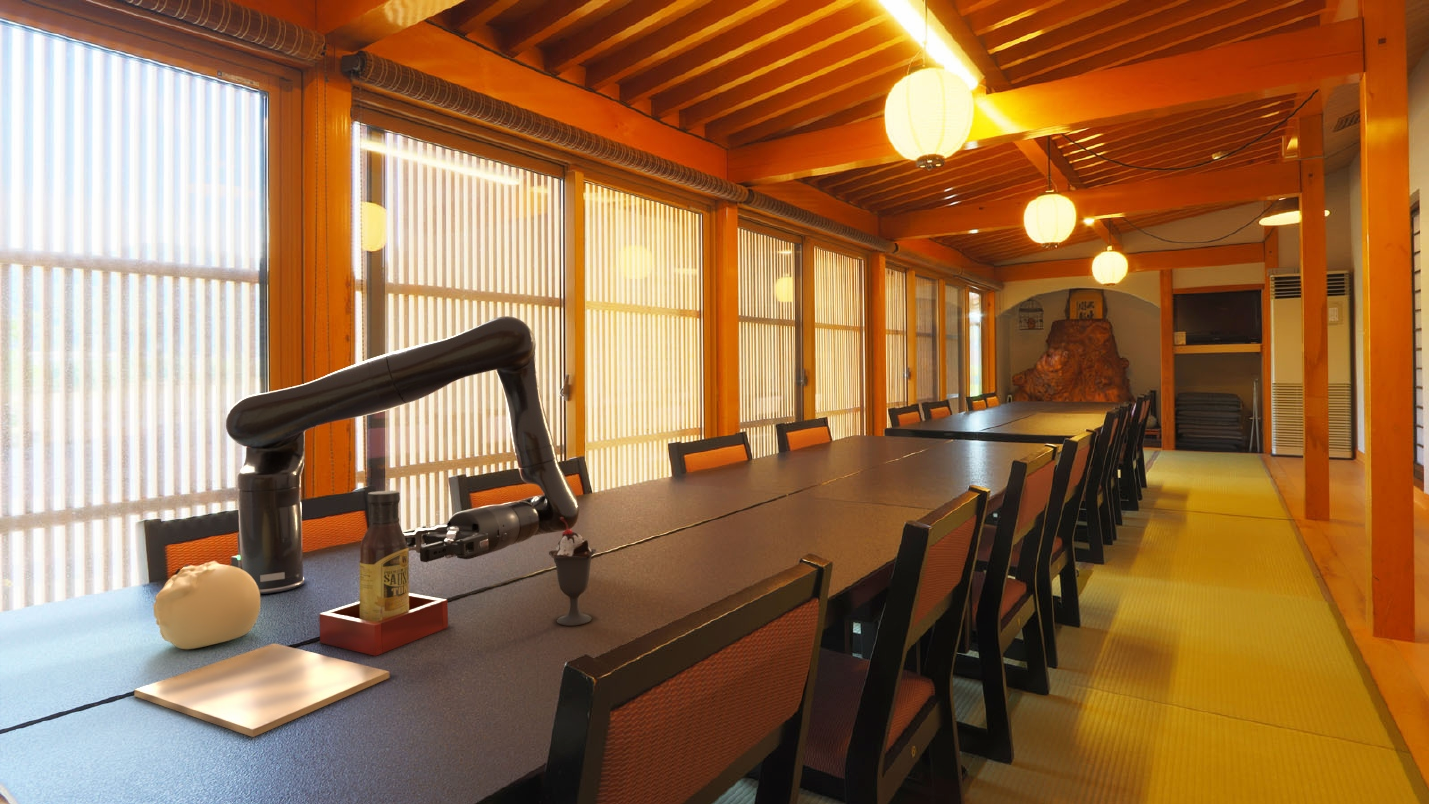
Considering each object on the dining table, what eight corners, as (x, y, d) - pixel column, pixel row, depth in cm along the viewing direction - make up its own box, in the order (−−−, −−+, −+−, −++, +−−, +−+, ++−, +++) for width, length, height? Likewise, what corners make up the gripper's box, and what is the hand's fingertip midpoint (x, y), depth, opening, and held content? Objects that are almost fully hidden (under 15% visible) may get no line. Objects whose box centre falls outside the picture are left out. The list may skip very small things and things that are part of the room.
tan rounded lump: (168, 634, 103) (165, 558, 103) (267, 622, 108) (265, 549, 107) (142, 663, 92) (139, 578, 92) (253, 648, 97) (250, 567, 97)
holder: (319, 643, 99) (318, 613, 99) (394, 616, 110) (393, 590, 109) (375, 656, 94) (374, 625, 94) (448, 627, 105) (447, 599, 105)
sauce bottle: (391, 644, 98) (386, 496, 97) (349, 642, 99) (345, 495, 99) (420, 628, 104) (416, 489, 104) (381, 625, 106) (377, 488, 105)
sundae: (553, 614, 110) (551, 514, 109) (598, 612, 111) (597, 513, 110) (547, 629, 103) (545, 523, 103) (595, 627, 104) (593, 521, 103)
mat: (134, 696, 83) (133, 689, 83) (274, 649, 97) (274, 643, 97) (253, 737, 73) (252, 729, 73) (389, 678, 87) (389, 671, 87)
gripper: (451, 504, 121) (365, 521, 107) (517, 510, 115) (436, 529, 101) (452, 549, 122) (366, 572, 107) (518, 557, 115) (437, 584, 101)
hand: (400, 551), depth 104 cm, fingers open, 8 cm apart
